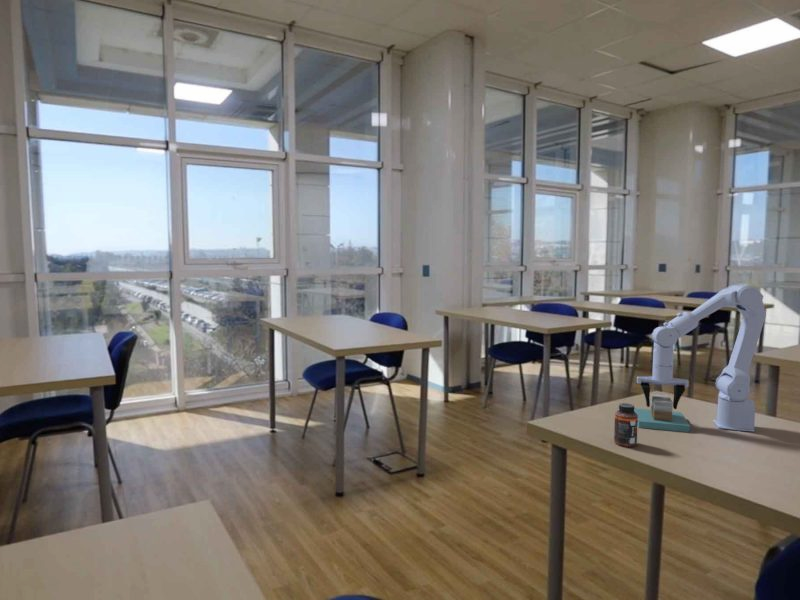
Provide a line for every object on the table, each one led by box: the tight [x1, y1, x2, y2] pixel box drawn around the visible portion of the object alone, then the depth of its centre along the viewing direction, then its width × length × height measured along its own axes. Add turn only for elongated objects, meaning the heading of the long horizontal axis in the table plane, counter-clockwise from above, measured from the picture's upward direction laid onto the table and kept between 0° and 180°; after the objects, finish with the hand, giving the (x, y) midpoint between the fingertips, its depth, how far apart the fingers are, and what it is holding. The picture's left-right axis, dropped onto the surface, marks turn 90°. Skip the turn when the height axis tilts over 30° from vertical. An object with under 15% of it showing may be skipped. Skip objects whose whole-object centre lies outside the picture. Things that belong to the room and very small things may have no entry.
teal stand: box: [634, 407, 691, 433], centre depth 165 cm, size 14×14×2 cm
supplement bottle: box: [613, 402, 638, 448], centre depth 147 cm, size 6×6×11 cm
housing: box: [650, 393, 673, 421], centre depth 164 cm, size 8×5×6 cm, turn 161°
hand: (661, 407), depth 164 cm, fingers open, 7 cm apart
